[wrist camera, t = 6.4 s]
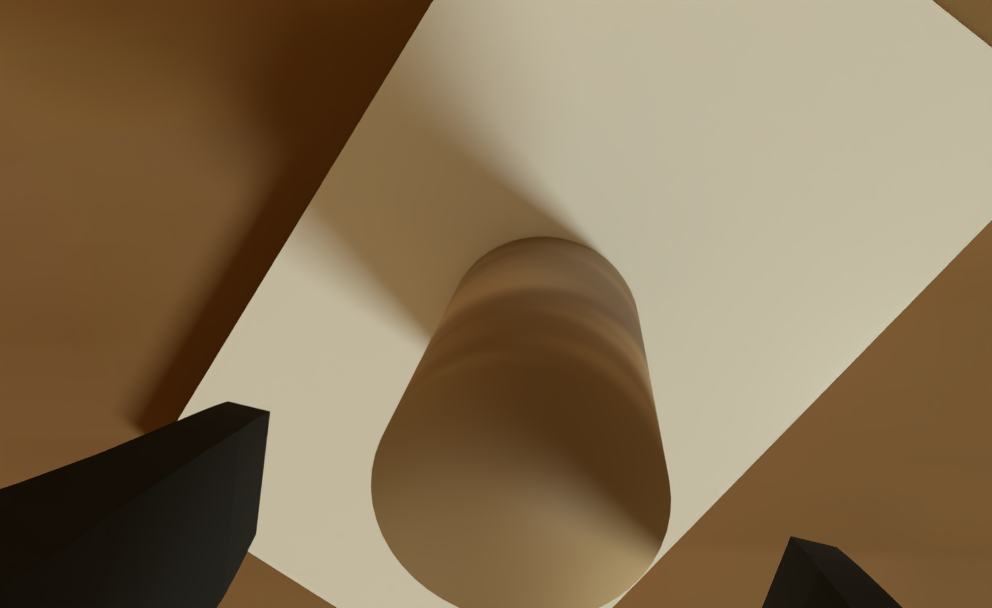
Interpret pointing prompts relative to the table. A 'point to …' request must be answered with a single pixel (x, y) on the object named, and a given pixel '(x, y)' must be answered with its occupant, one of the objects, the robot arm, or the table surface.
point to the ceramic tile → (613, 230)
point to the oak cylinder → (528, 439)
